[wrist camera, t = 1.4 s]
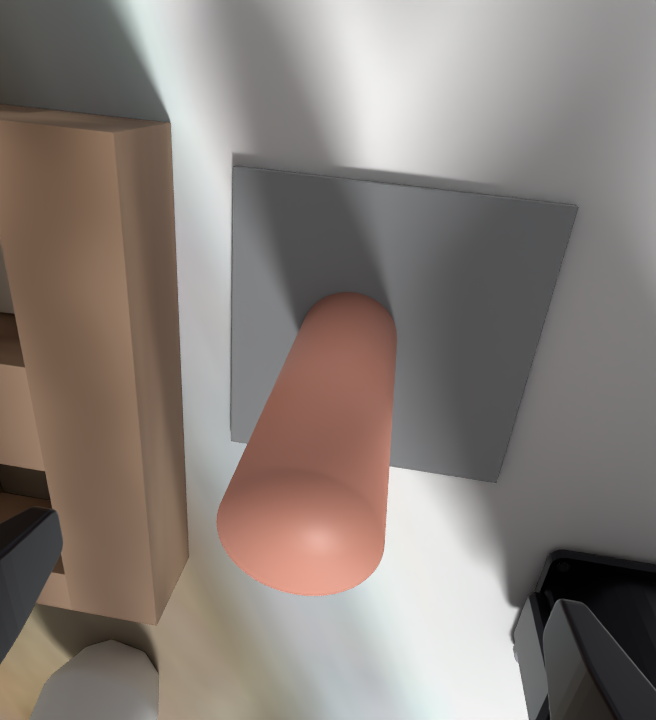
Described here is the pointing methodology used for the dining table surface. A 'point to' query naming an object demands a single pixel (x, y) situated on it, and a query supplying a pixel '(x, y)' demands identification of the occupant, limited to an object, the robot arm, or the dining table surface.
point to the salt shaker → (101, 686)
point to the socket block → (94, 352)
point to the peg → (319, 456)
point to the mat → (400, 300)
